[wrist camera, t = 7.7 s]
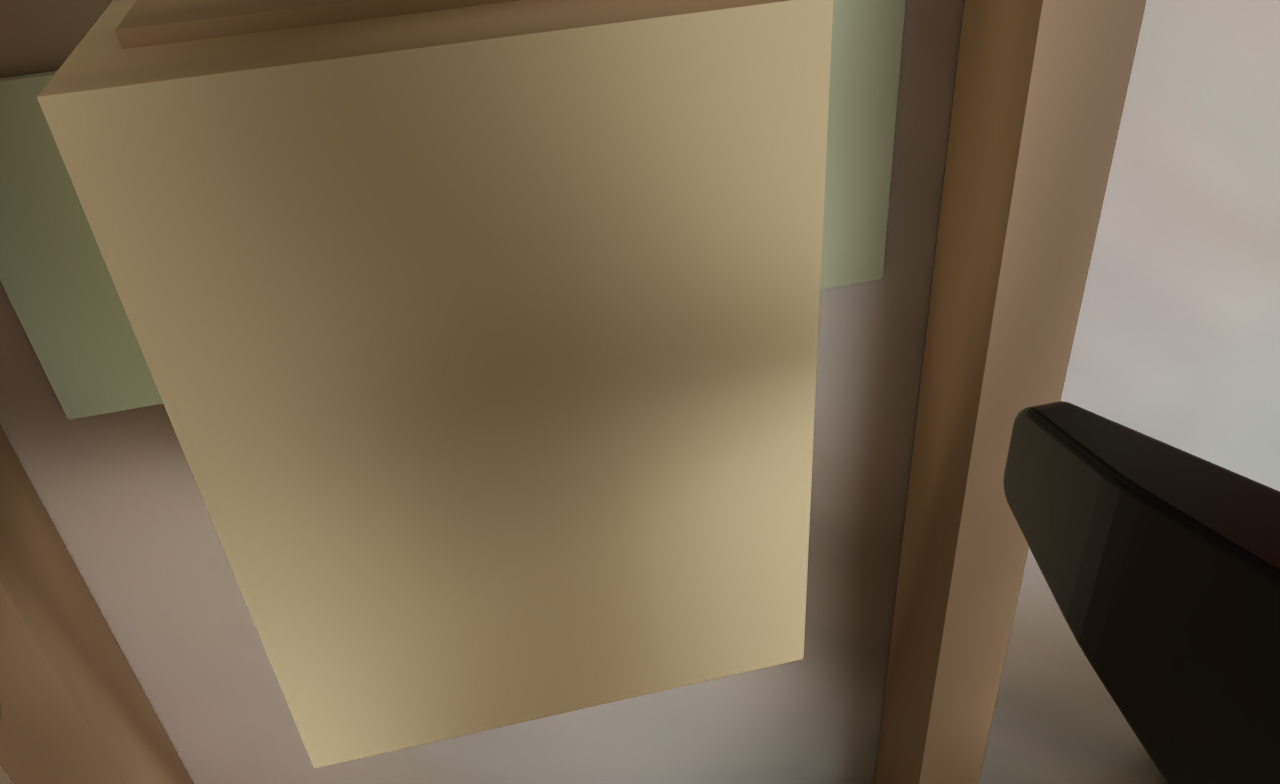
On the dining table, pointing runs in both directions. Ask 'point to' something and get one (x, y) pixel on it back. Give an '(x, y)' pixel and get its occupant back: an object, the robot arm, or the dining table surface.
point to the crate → (475, 332)
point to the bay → (851, 253)
